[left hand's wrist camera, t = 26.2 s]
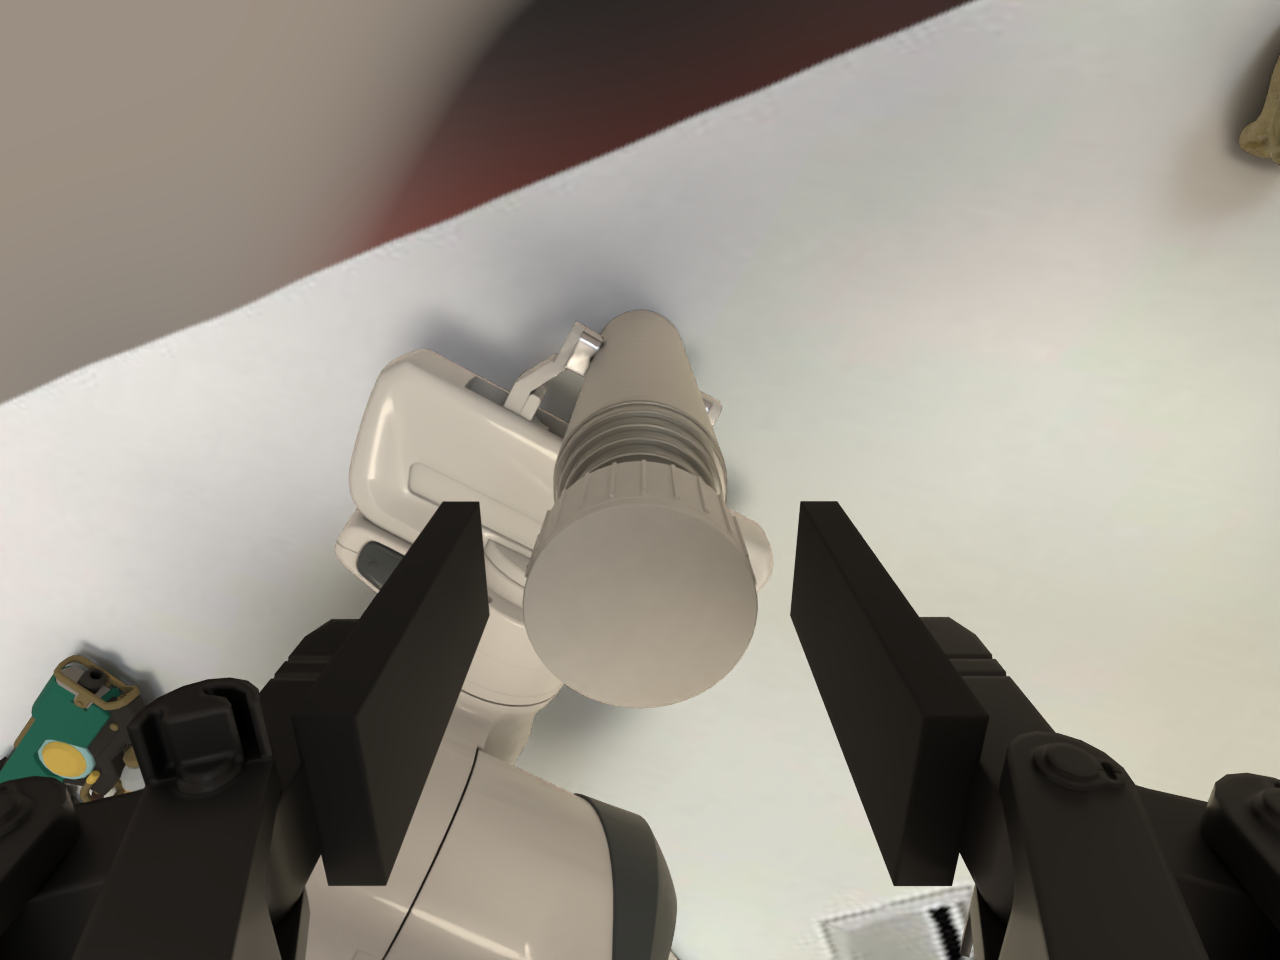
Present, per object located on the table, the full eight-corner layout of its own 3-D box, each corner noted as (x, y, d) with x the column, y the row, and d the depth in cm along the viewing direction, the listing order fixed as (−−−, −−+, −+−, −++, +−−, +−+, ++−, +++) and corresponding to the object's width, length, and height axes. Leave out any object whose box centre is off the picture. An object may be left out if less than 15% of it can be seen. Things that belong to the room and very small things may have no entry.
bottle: (585, 380, 38) (489, 651, 14) (613, 296, 36) (560, 440, 12) (665, 408, 38) (707, 716, 14) (696, 327, 37) (801, 523, 13)
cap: (520, 619, 15) (500, 686, 13) (559, 435, 14) (544, 475, 12) (710, 659, 16) (721, 730, 13) (768, 483, 14) (792, 532, 12)
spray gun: (115, 870, 51) (-44, 729, 47) (272, 788, 47) (111, 627, 43) (67, 924, 47) (-112, 776, 43) (233, 841, 43) (53, 668, 39)
